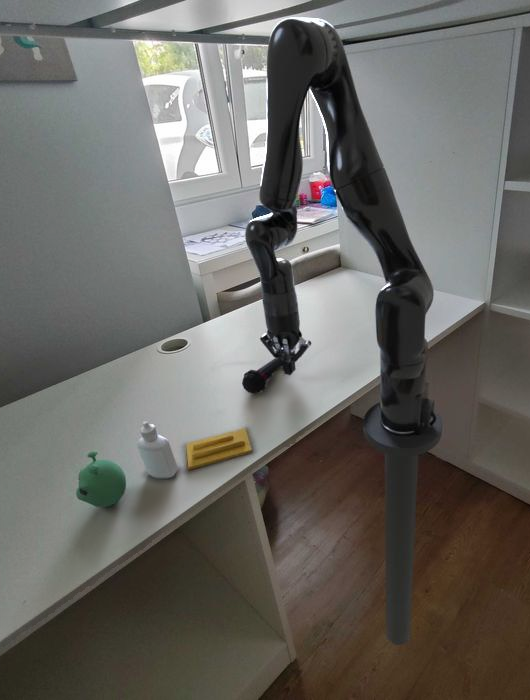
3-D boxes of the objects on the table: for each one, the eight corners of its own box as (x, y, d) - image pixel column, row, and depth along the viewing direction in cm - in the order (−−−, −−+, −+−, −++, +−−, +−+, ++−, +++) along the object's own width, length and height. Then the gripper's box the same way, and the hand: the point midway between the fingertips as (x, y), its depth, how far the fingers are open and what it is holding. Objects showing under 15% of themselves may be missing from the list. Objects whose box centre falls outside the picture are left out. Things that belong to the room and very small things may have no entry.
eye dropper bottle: (159, 486, 80) (140, 435, 74) (145, 471, 83) (126, 422, 77) (181, 472, 83) (164, 422, 77) (166, 458, 86) (149, 409, 80)
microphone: (283, 364, 119) (242, 399, 102) (276, 344, 118) (233, 377, 101) (301, 361, 117) (261, 396, 100) (293, 341, 115) (252, 374, 98)
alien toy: (83, 496, 79) (62, 455, 74) (129, 479, 82) (112, 438, 77) (85, 525, 74) (63, 482, 68) (134, 505, 77) (116, 463, 71)
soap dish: (246, 430, 92) (244, 424, 91) (252, 451, 86) (250, 446, 86) (186, 446, 89) (185, 440, 88) (188, 469, 83) (187, 464, 82)
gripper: (246, 310, 97) (257, 375, 106) (298, 319, 92) (306, 387, 101) (265, 296, 103) (274, 360, 112) (315, 304, 98) (321, 370, 106)
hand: (289, 372), depth 106 cm, fingers closed
